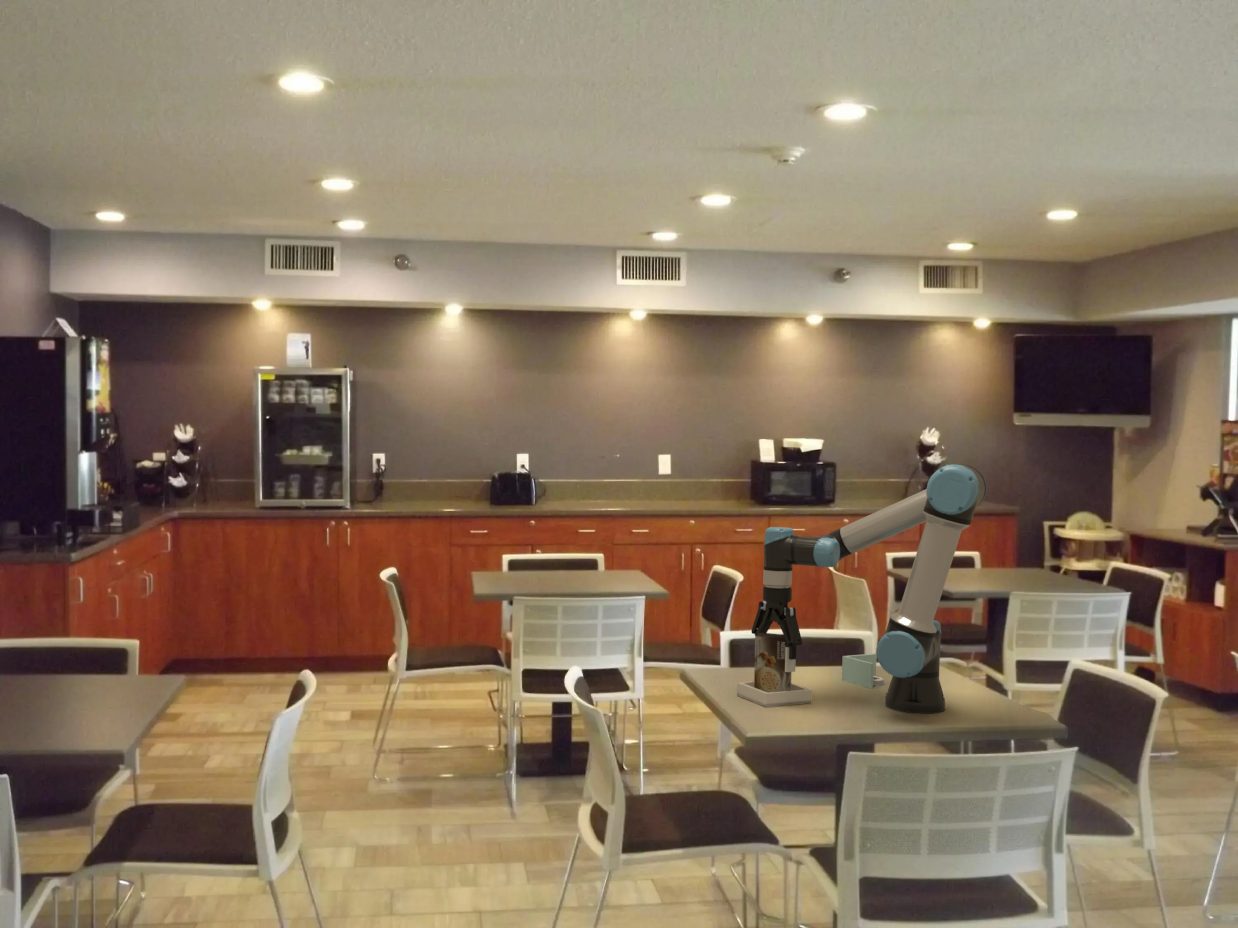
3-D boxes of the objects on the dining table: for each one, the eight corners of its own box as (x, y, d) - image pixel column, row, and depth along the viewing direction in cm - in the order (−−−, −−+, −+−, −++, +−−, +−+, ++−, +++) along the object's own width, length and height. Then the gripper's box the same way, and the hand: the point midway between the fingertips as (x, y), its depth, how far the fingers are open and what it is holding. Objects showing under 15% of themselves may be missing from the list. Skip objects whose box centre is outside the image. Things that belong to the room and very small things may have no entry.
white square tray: (811, 703, 295) (811, 689, 294) (765, 707, 288) (766, 693, 288) (781, 691, 307) (781, 679, 307) (736, 695, 301) (737, 682, 301)
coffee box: (792, 695, 300) (794, 634, 300) (787, 700, 294) (789, 638, 294) (757, 691, 303) (759, 631, 303) (752, 696, 297) (754, 635, 297)
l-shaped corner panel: (870, 690, 315) (871, 663, 315) (841, 682, 326) (842, 656, 326) (902, 686, 321) (903, 660, 321) (873, 678, 332) (874, 653, 332)
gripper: (817, 591, 288) (815, 674, 288) (763, 580, 310) (761, 657, 310) (792, 592, 284) (790, 676, 285) (740, 580, 307) (738, 658, 307)
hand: (775, 666), depth 298 cm, fingers open, 13 cm apart
